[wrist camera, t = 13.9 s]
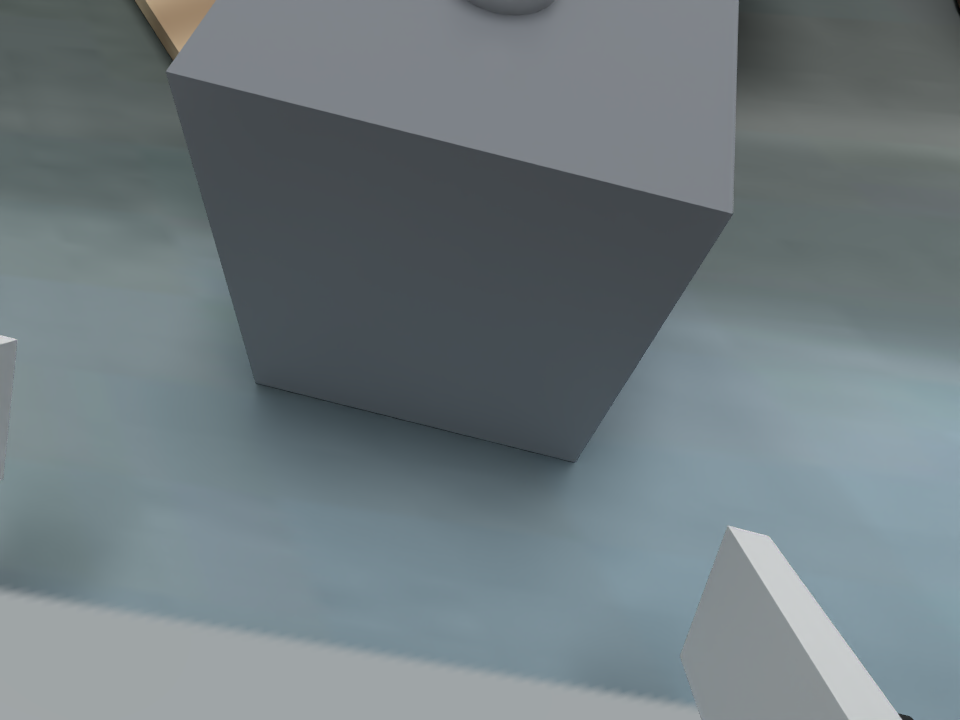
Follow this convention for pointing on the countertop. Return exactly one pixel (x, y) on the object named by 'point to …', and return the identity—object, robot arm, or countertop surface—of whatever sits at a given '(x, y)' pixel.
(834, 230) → the countertop surface
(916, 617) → the countertop surface
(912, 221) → the countertop surface
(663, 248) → the grey knobbed cube
